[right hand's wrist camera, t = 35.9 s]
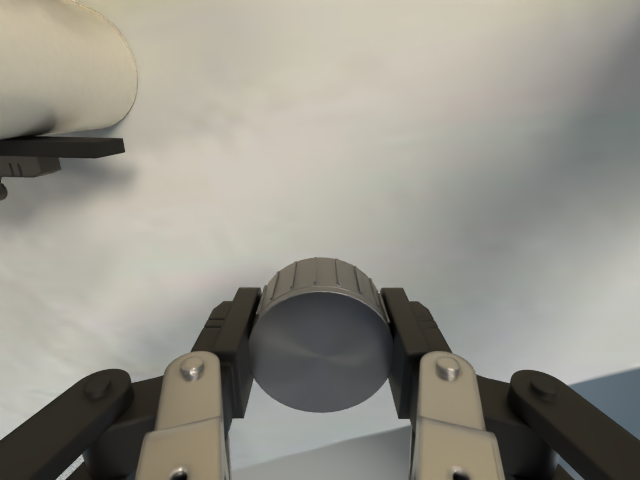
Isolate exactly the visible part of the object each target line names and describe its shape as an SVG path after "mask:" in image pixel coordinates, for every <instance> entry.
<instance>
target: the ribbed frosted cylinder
mask: <svg viewBox="0 0 640 480" xmlns="http://www.w3.org/2000/svg"><path fill="white" fill-rule="evenodd" d="M136 92H137V71H136V66H135V62H134V59H133V56H132V54H131V51H130V49H129V47H128V45H127V43H126V42H125V40H124V38H123V37H122V36H121V34H120V33H119V32H118V30H117V29H116V28H115V27H114V26H113V25H112V24H111V23H110V22H109V21H108V20H107V19H106V18H104V17H103V16H102V15H100V14H99V13H97V12H95V11H94V10H92V9H90V8H88V7H85V6H83V5H81V4H78V3H76V2H73V1H71V0H0V140H3V139H12V138H21V137H30V136H40V135H49V134H58V133H68V132H77V131H86V130H95V129H103V128H106V127H110V126H112V125H114V124H116V123H117V122H119V121H120V120H121V119H122V118H124V117H125V116H126V114H127V113H128V112H129V110H130V109H131V107H132V105H133V102H134V100H135V97H136Z"/></svg>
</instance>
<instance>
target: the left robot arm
mask: <svg viewBox="0 0 640 480" xmlns="http://www.w3.org/2000/svg"><path fill="white" fill-rule="evenodd" d="M124 152H125V148H124V143H123V138H87V137H49V136H30V137H21V138H12V139H3V140H0V200H3V199H5V198H6V197H7V189H6V187H5V186H4V185H3V184H2V183H1V178H2V177H38V176H42V175H46V174H51V173H54V172H57V171H59V170H61V167H60V163H59V159H58V157H62V158H100V157H105V156H109V155H114V154H119V153H124Z"/></svg>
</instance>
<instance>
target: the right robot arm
mask: <svg viewBox="0 0 640 480" xmlns="http://www.w3.org/2000/svg"><path fill="white" fill-rule="evenodd" d="M380 293H381V296H382V299H383V302H384V305H385V308H386V311H387V314H388V317H389V320H390V323H391V324H389V326H390V329H391V333H392V336H393V339H394V343H393V355H392V366H391V372H390V374H389V376H388V379H389V383H390V387H391V391H392V395H393V399H394V403H395V407H396V411H397V415H398V419H410V421H411V425H412V432H411V442H410V459H409V476H408V480H574V479H573V478H572V477H571V476H570V475H569V474H568V473H567V472H566V471H565V470H564V469H563V468H562V467H561V466H560V465H559V464H558V462H559V459H560V456H561V457H562V458H563V459H564V460H565V461H566V462H567V463H568V464H569V465H570V466H571V467H572V468H573V469H574V470H575V471H576V472H577V473H578V474H579V475H580V476H581V477H582V478H583V479H585V480H640V440H638V439H637V438H636V437H635V436H633V435H632V434H631V433H629V432H628V431H627V430H625V429H624V428H623V427H621V426H620V425H619V424H617V423H616V422H615V421H613V420H612V419H611V418H609V417H608V416H607V415H605V414H604V413H603V412H601V411H600V410H599V409H598V408H596V407H595V406H594V405H592V404H591V403H590V402H588V401H587V400H586V399H584V398H583V397H582V396H580V395H579V394H578V393H576V392H575V391H574V390H572V389H571V388H570V387H568V386H567V385H566V384H564V383H563V382H562V381H560V380H558V379H557V378H555V377H553V376H551V375H548V374H546V373H543V372H539V371H534V370H520V371H517V372H515V373H514V374H513V375H512V377H511V381H510V383H506V382H502V381H497V380H493V379H488V378H485V377H482V376H479V375H476V373H475V370H474V368H473V367H472V365H471V364H470V363H469V362H468V361H466V360H465V359H464V358H462V357H460V356H458V355H456V354H453V353H452V351H451V350H450V348H449V346H448V344H447V342H446V340H445V339H444V337H443V335H442V333H441V331H440V330H439V328H438V326H437V324H436V322H435V321H434V319H433V317H432V315H431V313H430V311H429V310H428V309H427V308H426V307H425V306H423V305H422V304H421V303H419V302H409V300H408V298H407V296H406V293H405V291H404V289H403V288H381V291H380ZM261 296H262V294H261V288H239V289H238V291H237V293H236V295H235V297H234V299H233V301H223V302H222V303H221V304H220V305H218V306H217V307H216V308H214V309H213V311H212V313H211V315H210V317H209V318H208V320H207V322H206V324H205V326H204V328H203V329H202V331H201V333H200V335H199V337H198V339H197V341H196V342H195V344H194V346H193V348H192V350H191V352H190V353H187V354H184V355H182V356H180V357H178V358H176V359H175V360H174V361H172V362H171V363H170V364H169V365H168V367H167V368H166V370H165V373H164V375H163V376H160V377H156V378H152V379H148V380H143V381H139V382H134V383H131V379H130V375H129V374H128V373H127V372H126V371H124V370H121V369H107V370H102V371H99V372H96V373H93V374H91V375H88V376H86V377H85V378H83V379H81V380H80V381H78V382H77V383H76V384H74V385H73V386H72V387H70V388H69V389H68V390H66V391H65V392H64V393H62V394H61V395H60V396H58V397H57V398H56V399H54V400H53V401H52V402H50V403H49V404H48V405H46V406H45V407H44V408H42V409H41V410H40V411H39V412H37V413H36V414H35V415H33V416H32V417H31V418H29V419H28V420H27V421H25V422H24V423H23V424H21V425H20V426H19V427H17V428H16V429H15V430H13V431H12V432H11V433H9V434H8V435H7V436H5V437H4V438H3V439H2V440H0V480H56V479H57V478H58V477H59V476H60V475H61V474H62V473H63V472H64V471H65V470H66V469H67V468H68V467H69V466H70V465H71V464H72V463H73V462H74V461H75V460H76V459H77V458H78V457H79V456H80V455H81V454H82V455H83V458H84V462H83V463H82V464H81V465H80V466H79V467H78V468H77V469H76V470H75V471H74V472H73V473H72V474H71V475H70V476H69V477H68V478H67V479H66V480H232V476H231V459H230V441H229V429H230V426H231V422H232V419H233V418H244V415H245V411H246V407H247V403H248V399H249V395H250V391H251V387H252V383H253V379H254V377H253V375H252V373H251V367H250V355H249V344H248V339H249V335H250V332H251V329H252V325H253V322H254V319H255V316H256V311H257V308H258V305H259V302H260V299H261Z"/></svg>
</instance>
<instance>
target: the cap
mask: <svg viewBox="0 0 640 480" xmlns="http://www.w3.org/2000/svg"><path fill="white" fill-rule="evenodd" d="M389 324H391V323H390V320H389V317H388V314H387V311H386V308H385V305H384V302H383V299H382V296H381V293H378V291H377V289H376V287H375V285H374V284H373V282H372V279H371V278H369V277H368V276H367V275H366V274H365V273H363V272H362V271H361V270H359V269H358V268H357V267H356V266H353V265H351V264H349V263H346V262H344V261H341V260H338V259H332V258H317V257H314V258H309V259H305V260H301V261H298V262H294V263H293V264H291V265H289V266H287V267H285V268H284V269H282V270H281V271H278V272H277V273H276V275H275V276H274V277H273V278H272V279H271V280H270V281H269V283H268V284H267V285H265V286H264V289H263V293H262V296H261V299H260V302H259V305H258V308H257V311H256V316H255V319H254V322H253V325H252V329H251V332H250V335H249V339H248V344H249V355H250V367H251V373H252V375H253V377H254V379H255V380H256V382H257V383H258V384H259V386H260V387H261V388H262V389H263V390H264V391H265V392H266V393H267V394H268V395H270V396H271V397H272V398H274V399H275V400H277V401H278V402H280V403H282V404H284V405H286V406H289V407H291V408H294V409H298V410H302V411H307V412H320V413H324V412H334V411H340V410H344V409H347V408H350V407H353V406H355V405H358V404H360V403H361V402H363V401H365V400H367V399H368V398H369V397H371V396H372V395H373V394H374V393H376V392H377V391H378V390H379V389H380V388H381V386H382V385H383V384H384V383H385V381H386V380H387V378H388V376H389V374H390V372H391V366H392V355H393V343H394V339H393V336H392V333H391V329H390V326H389Z"/></svg>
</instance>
